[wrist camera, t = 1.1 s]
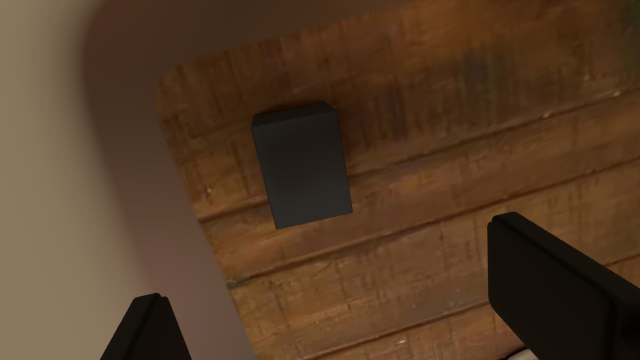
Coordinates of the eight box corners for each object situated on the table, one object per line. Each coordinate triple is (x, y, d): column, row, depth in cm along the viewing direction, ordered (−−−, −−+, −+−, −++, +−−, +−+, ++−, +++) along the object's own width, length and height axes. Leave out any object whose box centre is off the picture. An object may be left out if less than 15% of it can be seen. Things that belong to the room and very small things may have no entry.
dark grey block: (253, 115, 21) (250, 127, 18) (326, 101, 22) (336, 109, 18) (274, 205, 24) (276, 230, 20) (341, 191, 24) (353, 213, 21)
